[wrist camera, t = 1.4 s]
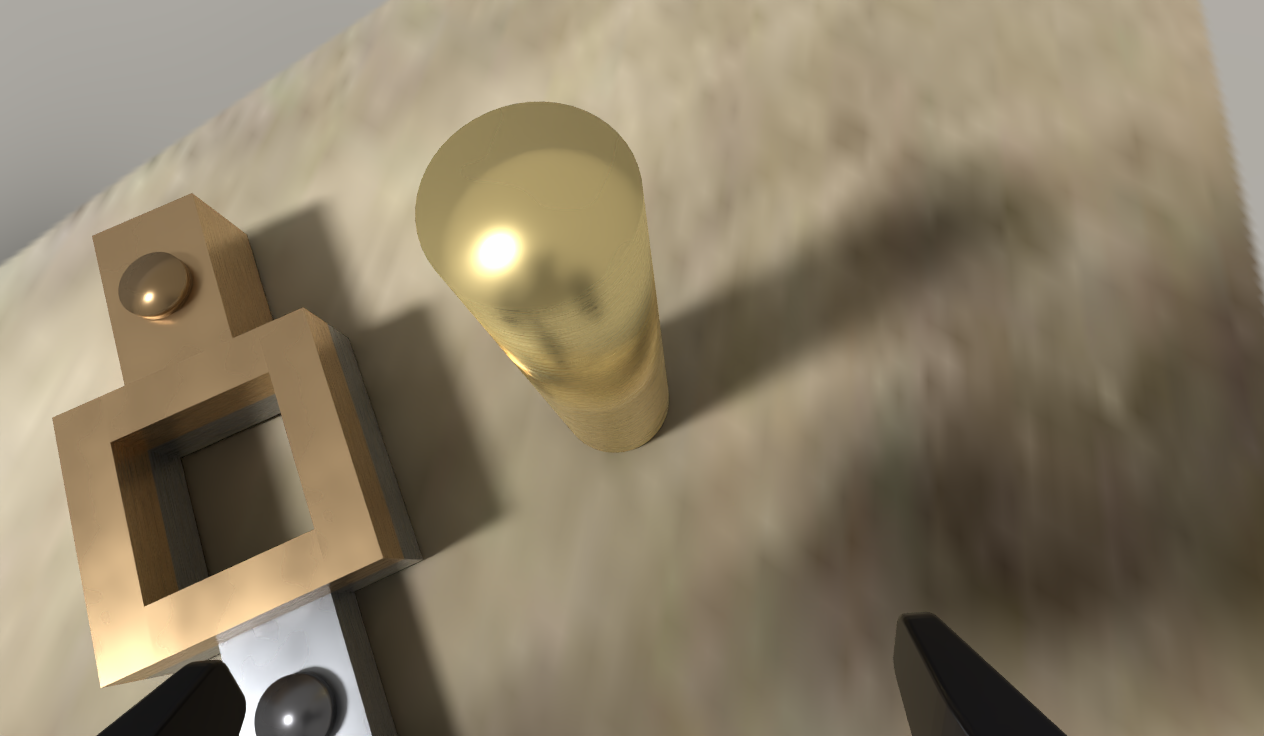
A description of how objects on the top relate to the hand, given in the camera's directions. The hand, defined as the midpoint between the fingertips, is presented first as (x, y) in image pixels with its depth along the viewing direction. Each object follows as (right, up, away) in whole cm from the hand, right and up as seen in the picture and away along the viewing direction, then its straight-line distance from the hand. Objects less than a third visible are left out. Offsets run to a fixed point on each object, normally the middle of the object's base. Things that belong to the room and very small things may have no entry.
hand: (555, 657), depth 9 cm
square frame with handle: (-11, -2, +13) cm, 17 cm away
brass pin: (0, +3, +14) cm, 14 cm away
